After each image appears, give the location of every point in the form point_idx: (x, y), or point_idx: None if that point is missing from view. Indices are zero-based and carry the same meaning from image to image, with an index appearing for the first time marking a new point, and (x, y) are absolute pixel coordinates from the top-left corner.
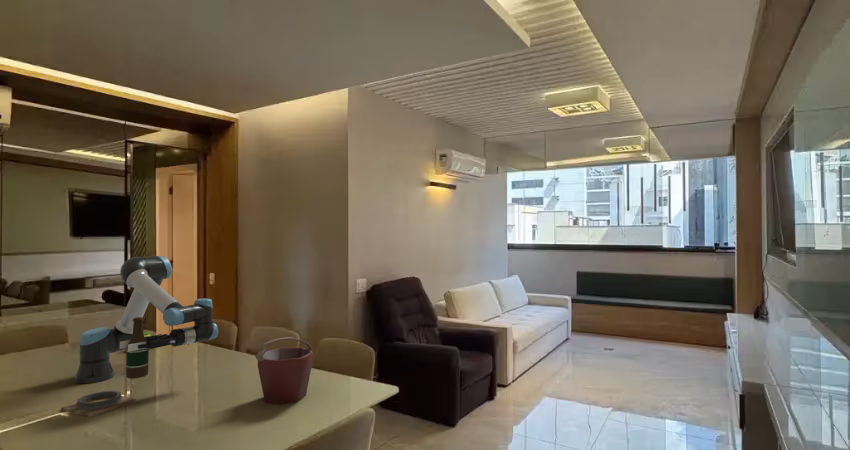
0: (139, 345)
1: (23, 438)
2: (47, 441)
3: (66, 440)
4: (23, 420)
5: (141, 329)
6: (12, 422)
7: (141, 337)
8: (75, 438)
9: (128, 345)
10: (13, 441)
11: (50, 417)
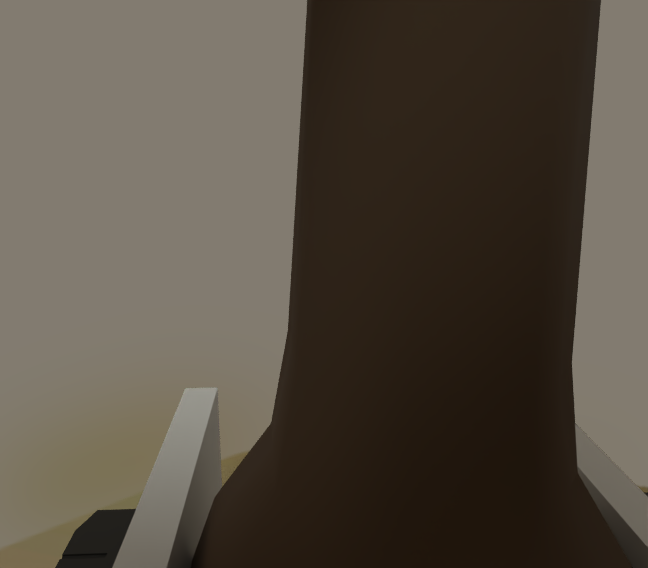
0: (90, 522)
1: None
2: (127, 503)
3: (56, 538)
4: None
5: (305, 223)
6: None
7: (272, 467)
8: (35, 561)
9: (190, 397)
10: (242, 456)
11: None
